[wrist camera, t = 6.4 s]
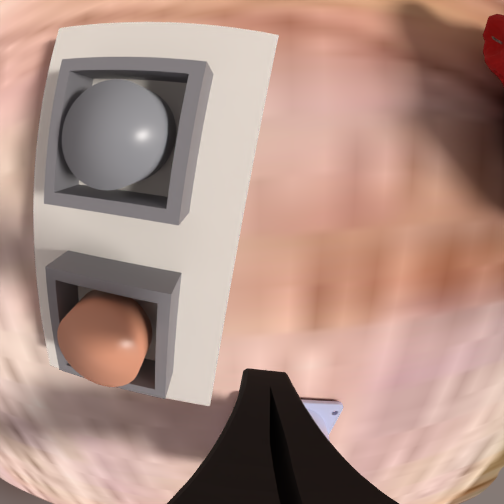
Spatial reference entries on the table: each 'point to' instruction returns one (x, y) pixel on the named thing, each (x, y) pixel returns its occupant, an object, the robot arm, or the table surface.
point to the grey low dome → (117, 134)
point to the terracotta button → (105, 338)
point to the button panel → (154, 192)
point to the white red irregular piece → (495, 45)
